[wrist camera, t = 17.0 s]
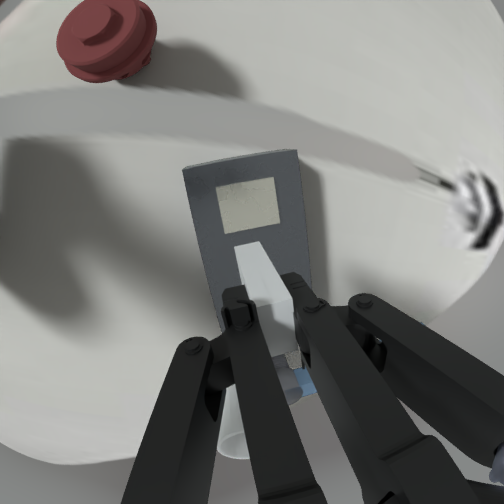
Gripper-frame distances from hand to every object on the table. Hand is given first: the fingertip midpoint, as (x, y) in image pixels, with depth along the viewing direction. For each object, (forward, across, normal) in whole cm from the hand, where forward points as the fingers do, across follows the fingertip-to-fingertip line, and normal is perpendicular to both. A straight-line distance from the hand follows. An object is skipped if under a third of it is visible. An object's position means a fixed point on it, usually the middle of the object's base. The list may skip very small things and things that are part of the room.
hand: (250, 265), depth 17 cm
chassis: (+19, +2, -6) cm, 20 cm away
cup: (+19, -4, -32) cm, 37 cm away
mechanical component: (+19, -9, +21) cm, 30 cm away
